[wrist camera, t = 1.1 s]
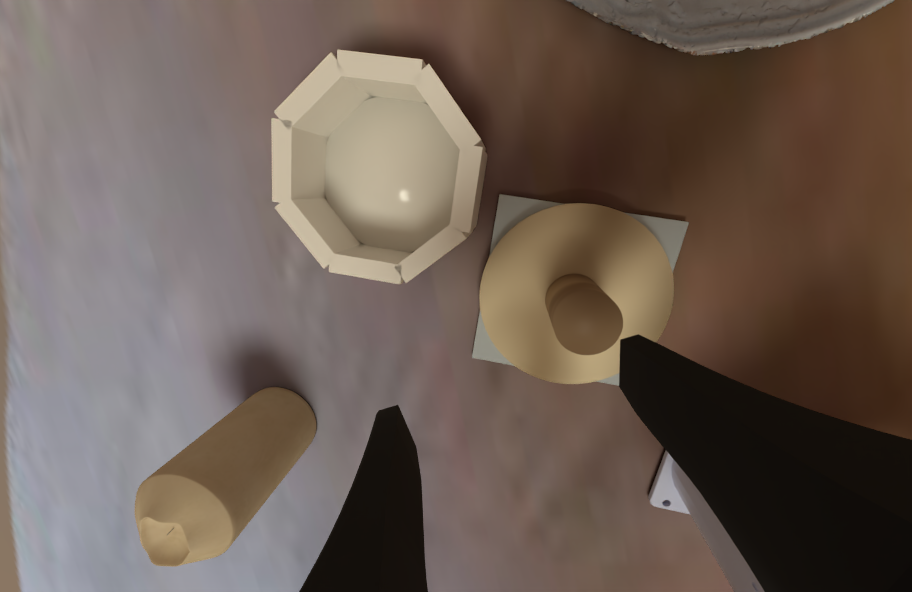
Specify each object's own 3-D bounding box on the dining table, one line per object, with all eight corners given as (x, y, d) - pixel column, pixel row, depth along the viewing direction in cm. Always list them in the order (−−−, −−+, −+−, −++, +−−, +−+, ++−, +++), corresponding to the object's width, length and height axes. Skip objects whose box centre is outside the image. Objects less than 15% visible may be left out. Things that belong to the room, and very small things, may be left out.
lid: (694, 219, 19) (753, 227, 14) (637, 392, 22) (671, 444, 17) (496, 189, 20) (493, 188, 15) (468, 359, 23) (458, 401, 18)
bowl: (497, 92, 19) (494, 67, 15) (468, 277, 22) (460, 294, 18) (316, 70, 20) (270, 41, 16) (312, 250, 23) (272, 261, 19)
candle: (243, 381, 26) (93, 489, 17) (315, 389, 26) (200, 506, 16) (252, 445, 28) (119, 577, 18) (320, 455, 27) (218, 596, 18)
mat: (685, 221, 19) (689, 222, 19) (632, 385, 22) (634, 388, 22) (499, 194, 20) (499, 194, 20) (472, 354, 23) (472, 357, 23)
